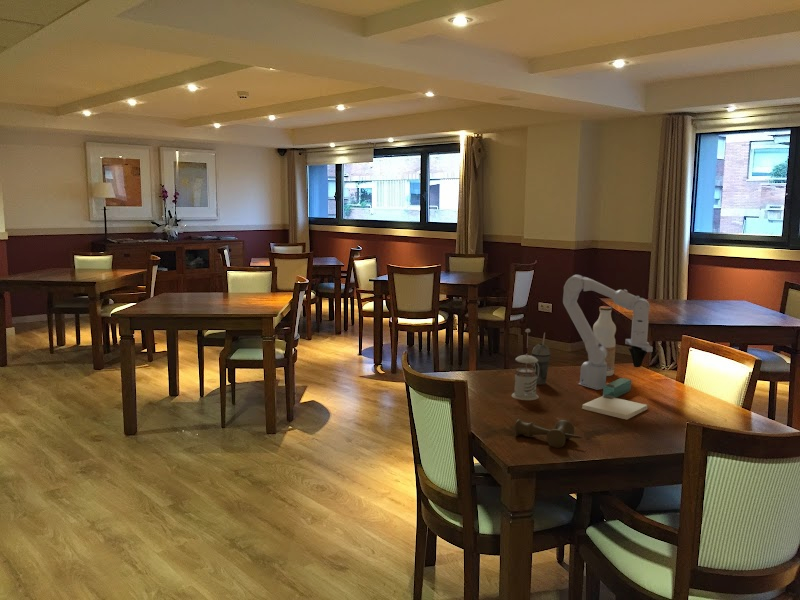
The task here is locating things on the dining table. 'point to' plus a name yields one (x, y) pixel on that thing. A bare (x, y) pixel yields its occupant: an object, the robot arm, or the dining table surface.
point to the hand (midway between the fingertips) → (637, 366)
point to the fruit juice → (606, 336)
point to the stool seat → (614, 407)
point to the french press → (525, 378)
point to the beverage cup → (541, 361)
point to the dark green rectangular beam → (617, 387)
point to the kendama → (548, 432)
